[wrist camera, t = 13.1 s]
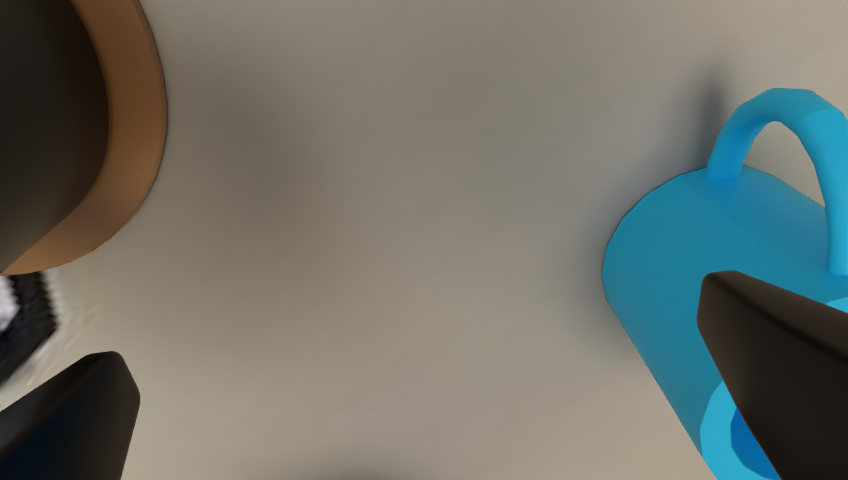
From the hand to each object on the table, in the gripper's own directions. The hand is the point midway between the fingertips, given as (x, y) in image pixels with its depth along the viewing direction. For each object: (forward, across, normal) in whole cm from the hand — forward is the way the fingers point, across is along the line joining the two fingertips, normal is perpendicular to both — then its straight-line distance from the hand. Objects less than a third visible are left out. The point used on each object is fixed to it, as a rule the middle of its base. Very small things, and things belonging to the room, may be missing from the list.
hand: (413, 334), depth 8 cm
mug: (+12, -11, +6) cm, 18 cm away
